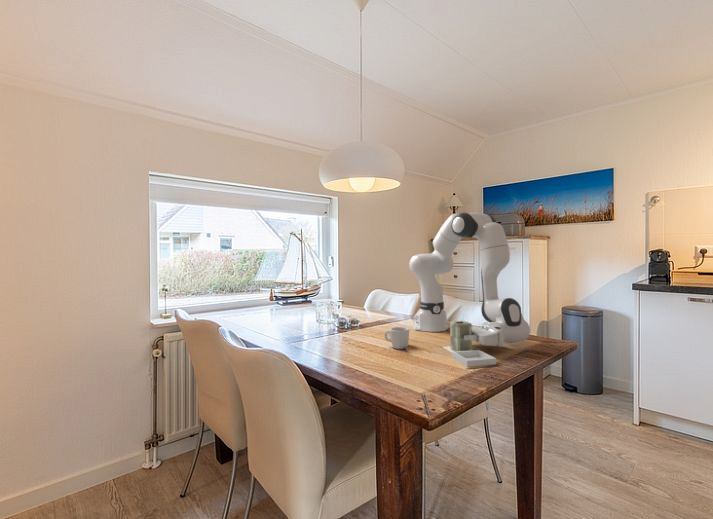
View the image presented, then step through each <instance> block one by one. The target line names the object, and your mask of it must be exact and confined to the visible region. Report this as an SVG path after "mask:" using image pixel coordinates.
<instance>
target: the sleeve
mask: <svg viewBox="0 0 713 519" xmlns="http://www.w3.org/2000/svg"><path fill="white" fill-rule="evenodd" d="M449 324H450V325H449V327H450V328H449V329H450V331H449V332H450V333H449V335H450V337H449V339H450V342H449V343H450V347H451V349H452V350H453V351H455V352H457V351H470V350H472V349H473V348H472V347H473V344H472V342H473V341H472V340H464V339H463V335H472V325H473V324H472V323H471V322H468V321H466V320H456V321H453V320H452V321H449Z"/></svg>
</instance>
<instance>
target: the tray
mask: <svg viewBox="0 0 713 519" xmlns="http://www.w3.org/2000/svg"><path fill="white" fill-rule="evenodd" d="M451 358H452V359H454V360H455V361H457V362H459V363H460V364H462V365H463V366H465V367H466V370H477V369H478V370H479V369H489V368H497V358H496V357H495V356H492V355H490V354H488V353H486V352H484V351H482V350H481V349H473V350H470V351H457V352H452V353H451Z"/></svg>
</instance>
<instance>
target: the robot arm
mask: <svg viewBox="0 0 713 519" xmlns="http://www.w3.org/2000/svg"><path fill="white" fill-rule="evenodd" d="M439 228H440V229H439V230H438V232H436V234H435V236H434V238H433V240H432V246H433V248H434V250H433V251H432V252H431V253H418V254H415V255H413V256H411V258H410V260H409V263H408V265H409V270H410V272H411V273H412V274H414V276H415V277H416V279H417V281H418V283H419V286H420V302H419V309H418V310H417V311H416V313H415V315H413V317H412V319H413V322H410V325H411V327H412V328H413V330H414V331H419V332H421V331H423V332H429V333H430V332H431V333H435V332H436V333H439V332H445V331H446V330H448V329H450V325H448V319H447V312H446V311H445V310H444V309H445V304H444V288H443V285H442V284H441V283H439V282H438V281H437V277H436V275H444V274H446V273H450V272H451V271H452V270H453V267H454V259H453V258H452V256H453V253H454V251H455V249H456V248H457V246H458V244H459V243H460V241H461V240H462V239H463V238H470V239H471V238H475V239H477V240H478V244H479V247H480V254H481V255H480V256H481V271H480V274H481V275H480V276H481V278H480V279H481V287H482V288H481V289H482V304H481V315H482V317H483V319H484V320H485V321H486V322H483V324H481V326H479V325H476V324H472V335H463V339H464V340H472V342H476V343H477V344H480V345H483V346H490V347H491V346H497V347H504V343H505V344H514V343H520V342H524V341H526V340H527V339H528V338H529V336H530V335H531V327H530V324H529V322H528V321H526V320H525V318H524V316H523V313H522V308H521V305H520V303H519V302H518V300H516V299H514V298H513V297H507V298H506V297H505V298H499V294H498V280H497V279H498V277H499V275H500V273H501V271H502V270H504V269H505V268H506V267H508V264H509V263H510V260H511V252H510V248H509V247H510V246H509V243H508V242H509V241H508V238H507V235H506V233H505V229H504V227H503V226H502V224H501V223H498V222H497V220H496V218H495V217H494V216H493V215H491V214H489V213H485V212H484V213H483V212H461V213H452V214H451V215H449V216H448V217H447V219H446V220H445V221H444V223H443V224H442V225H441V226H440V227H439Z"/></svg>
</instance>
